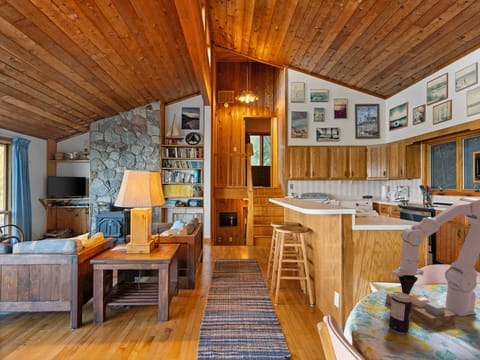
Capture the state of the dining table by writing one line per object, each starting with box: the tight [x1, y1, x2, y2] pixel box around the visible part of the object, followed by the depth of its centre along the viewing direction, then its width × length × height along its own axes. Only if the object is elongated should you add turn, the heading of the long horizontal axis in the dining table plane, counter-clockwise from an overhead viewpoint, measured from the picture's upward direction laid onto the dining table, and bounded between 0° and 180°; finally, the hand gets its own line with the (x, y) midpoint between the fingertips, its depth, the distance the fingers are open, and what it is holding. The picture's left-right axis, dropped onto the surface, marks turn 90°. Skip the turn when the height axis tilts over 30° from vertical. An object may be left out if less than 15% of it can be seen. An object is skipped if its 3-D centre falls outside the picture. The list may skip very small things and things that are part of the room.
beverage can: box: [388, 291, 412, 335], centre depth 98 cm, size 6×6×12 cm
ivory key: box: [411, 294, 430, 307], centre depth 112 cm, size 4×4×3 cm
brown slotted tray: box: [385, 291, 457, 329], centre depth 112 cm, size 12×19×4 cm, turn 21°
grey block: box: [425, 301, 445, 316], centre depth 107 cm, size 4×4×3 cm
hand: (405, 293), depth 118 cm, fingers closed, pressing on red key
